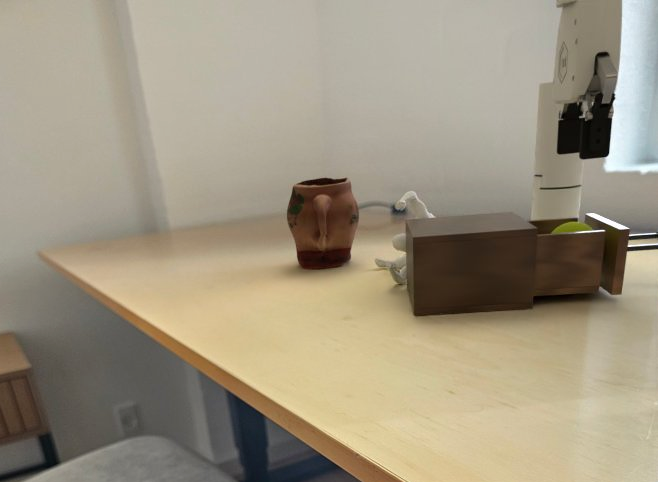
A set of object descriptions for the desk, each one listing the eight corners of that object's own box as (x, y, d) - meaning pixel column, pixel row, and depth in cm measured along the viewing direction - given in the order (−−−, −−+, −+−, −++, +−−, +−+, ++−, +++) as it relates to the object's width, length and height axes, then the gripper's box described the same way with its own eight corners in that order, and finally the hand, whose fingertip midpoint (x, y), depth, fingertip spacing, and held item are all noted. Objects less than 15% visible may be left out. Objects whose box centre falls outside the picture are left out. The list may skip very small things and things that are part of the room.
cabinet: (508, 281, 94) (512, 211, 90) (532, 308, 81) (538, 228, 77) (406, 288, 95) (405, 219, 91) (413, 316, 82) (412, 237, 78)
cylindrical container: (556, 251, 110) (570, 81, 99) (584, 257, 104) (602, 77, 93) (519, 256, 109) (529, 84, 97) (546, 263, 102) (559, 81, 91)
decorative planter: (369, 273, 106) (365, 181, 100) (295, 281, 106) (286, 188, 99) (353, 252, 124) (348, 172, 118) (289, 258, 123) (281, 178, 117)
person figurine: (380, 196, 107) (398, 185, 90) (456, 208, 108) (488, 198, 91) (368, 278, 111) (383, 282, 94) (441, 288, 112) (470, 294, 95)
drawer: (652, 267, 92) (660, 208, 88) (695, 290, 80) (707, 223, 76) (490, 277, 93) (492, 220, 90) (509, 301, 81) (513, 236, 78)
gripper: (539, 2, 80) (533, 154, 88) (581, -24, 65) (569, 164, 72) (602, -6, 79) (590, 148, 87) (660, -35, 64) (640, 156, 72)
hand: (581, 155), depth 80 cm, fingers open, 9 cm apart
